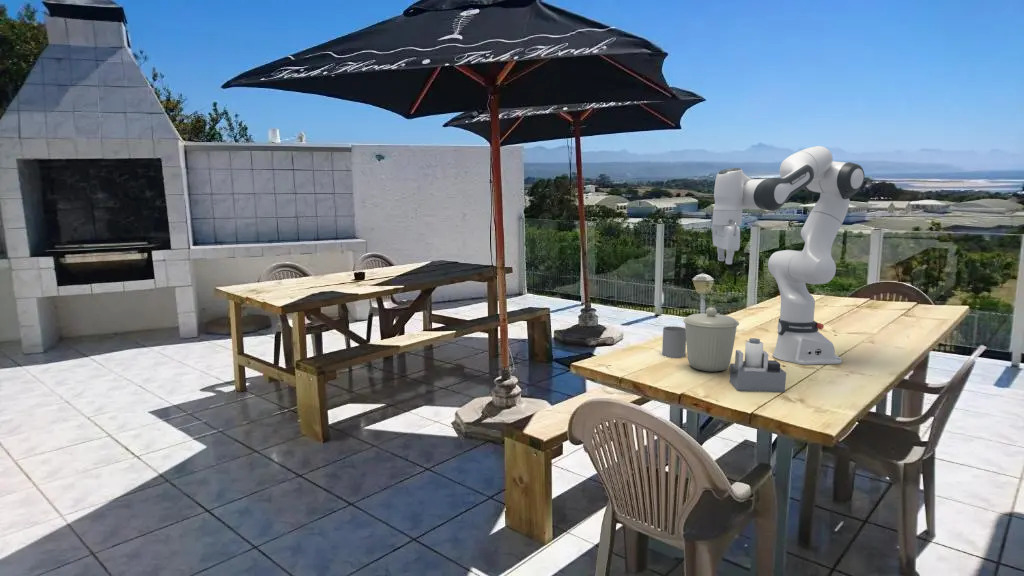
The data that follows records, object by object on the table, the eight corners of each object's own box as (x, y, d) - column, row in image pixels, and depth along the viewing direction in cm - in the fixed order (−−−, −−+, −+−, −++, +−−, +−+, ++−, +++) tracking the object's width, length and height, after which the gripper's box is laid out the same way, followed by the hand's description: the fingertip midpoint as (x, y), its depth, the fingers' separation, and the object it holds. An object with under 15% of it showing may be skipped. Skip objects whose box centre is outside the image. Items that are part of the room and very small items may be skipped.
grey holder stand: (774, 382, 191) (777, 349, 189) (784, 392, 182) (787, 356, 180) (729, 381, 192) (731, 348, 190) (737, 390, 183) (739, 355, 182)
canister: (746, 368, 207) (750, 307, 204) (718, 378, 195) (722, 314, 192) (699, 357, 220) (701, 301, 217) (670, 367, 208) (673, 307, 205)
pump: (758, 365, 189) (760, 337, 187) (763, 370, 184) (765, 341, 182) (742, 365, 189) (743, 337, 188) (746, 369, 184) (748, 341, 183)
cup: (686, 358, 219) (687, 331, 218) (662, 357, 221) (663, 330, 219) (684, 352, 227) (685, 326, 226) (661, 351, 229) (662, 325, 228)
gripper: (746, 220, 183) (744, 266, 185) (729, 218, 203) (726, 259, 206) (725, 220, 184) (722, 265, 186) (709, 218, 204) (707, 259, 206)
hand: (724, 262), depth 196 cm, fingers open, 8 cm apart
